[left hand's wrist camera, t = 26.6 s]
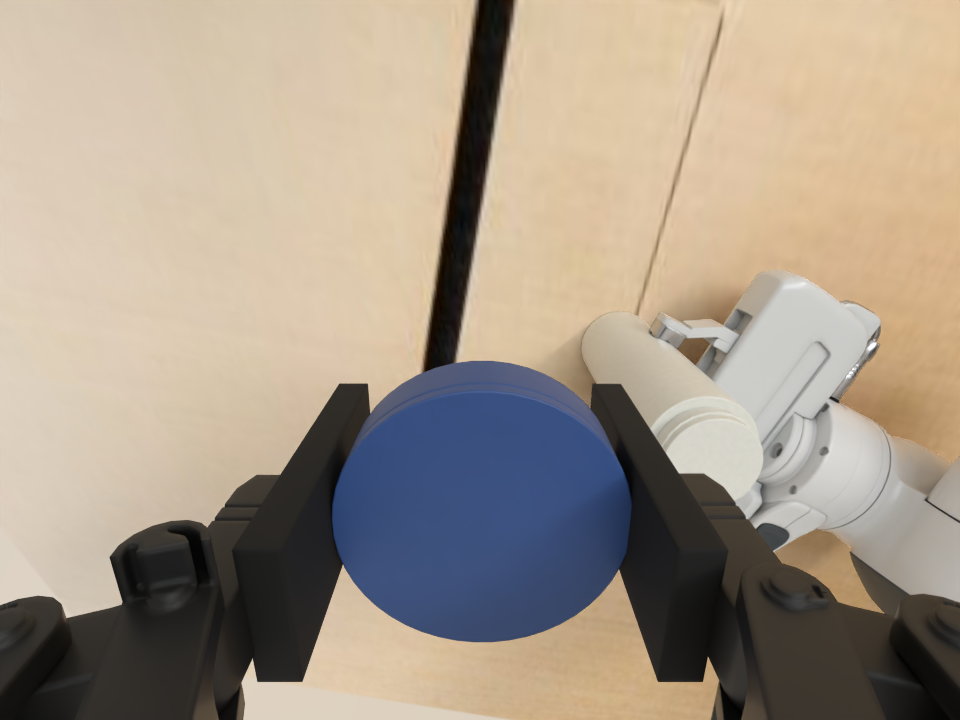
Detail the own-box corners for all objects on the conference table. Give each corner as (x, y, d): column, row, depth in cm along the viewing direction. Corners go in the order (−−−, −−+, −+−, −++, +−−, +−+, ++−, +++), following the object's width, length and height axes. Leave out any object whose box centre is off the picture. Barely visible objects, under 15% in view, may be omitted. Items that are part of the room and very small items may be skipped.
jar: (566, 349, 42) (625, 470, 24) (617, 296, 40) (718, 384, 23) (616, 392, 43) (707, 537, 25) (667, 342, 41) (801, 459, 24)
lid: (536, 618, 14) (543, 677, 12) (312, 533, 13) (289, 584, 11) (664, 429, 12) (693, 468, 10) (414, 312, 11) (402, 337, 9)
